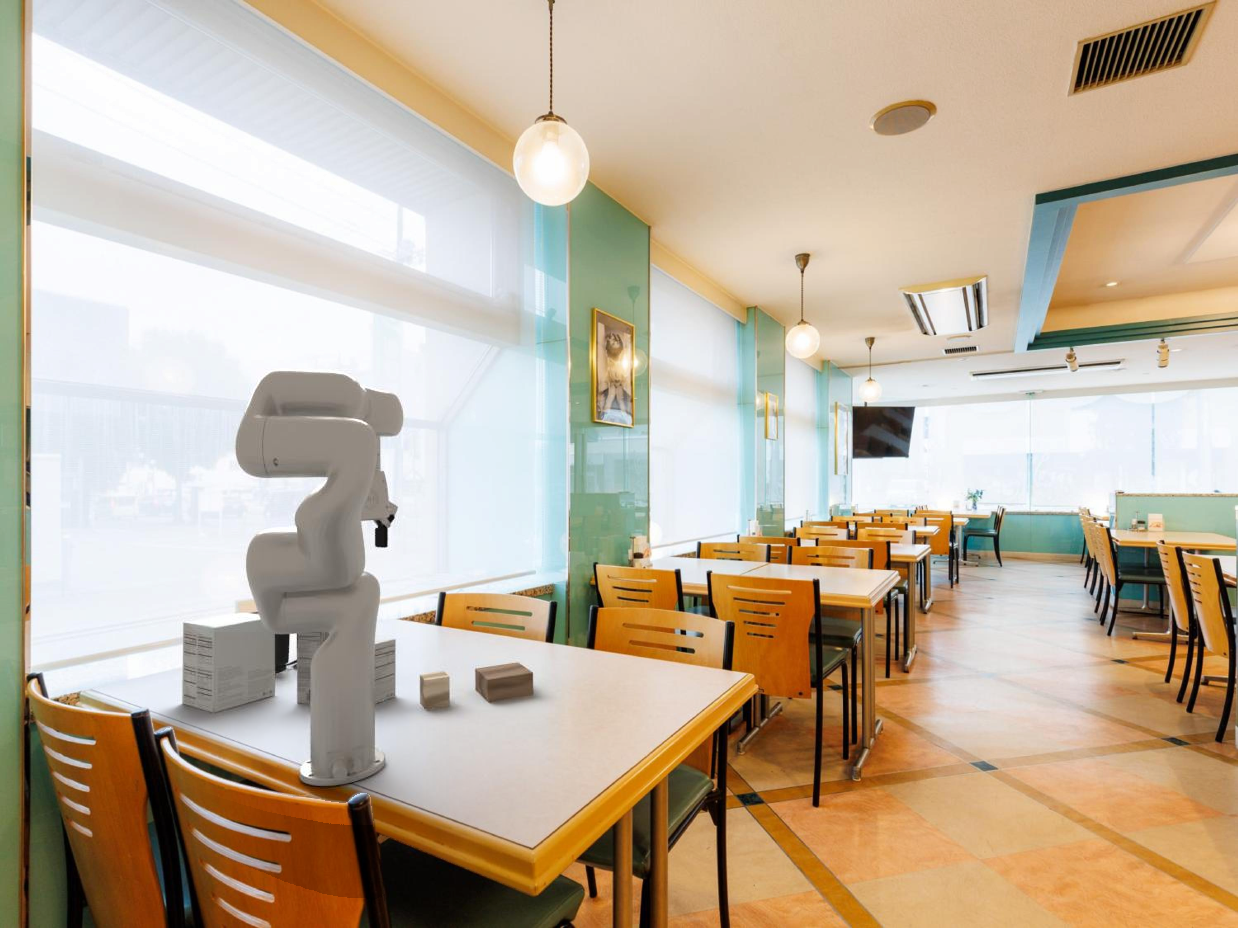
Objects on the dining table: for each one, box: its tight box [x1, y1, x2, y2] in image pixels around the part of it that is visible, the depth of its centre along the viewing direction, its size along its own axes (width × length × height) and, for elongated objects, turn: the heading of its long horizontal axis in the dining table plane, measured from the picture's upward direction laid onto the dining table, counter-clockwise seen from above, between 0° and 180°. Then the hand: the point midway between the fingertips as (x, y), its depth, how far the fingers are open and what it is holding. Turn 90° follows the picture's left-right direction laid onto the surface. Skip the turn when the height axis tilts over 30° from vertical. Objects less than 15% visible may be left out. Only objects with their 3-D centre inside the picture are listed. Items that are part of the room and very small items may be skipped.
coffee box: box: [296, 632, 329, 705], centre depth 141 cm, size 9×6×16 cm
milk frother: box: [250, 611, 297, 673], centre depth 166 cm, size 14×16×15 cm
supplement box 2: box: [375, 636, 397, 705], centre depth 139 cm, size 7×7×13 cm
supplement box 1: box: [181, 611, 276, 713], centre depth 141 cm, size 13×13×18 cm
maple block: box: [419, 670, 451, 710], centre depth 134 cm, size 5×5×6 cm
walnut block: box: [474, 662, 534, 703], centre depth 142 cm, size 10×10×5 cm
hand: (361, 549), depth 129 cm, fingers open, 9 cm apart
